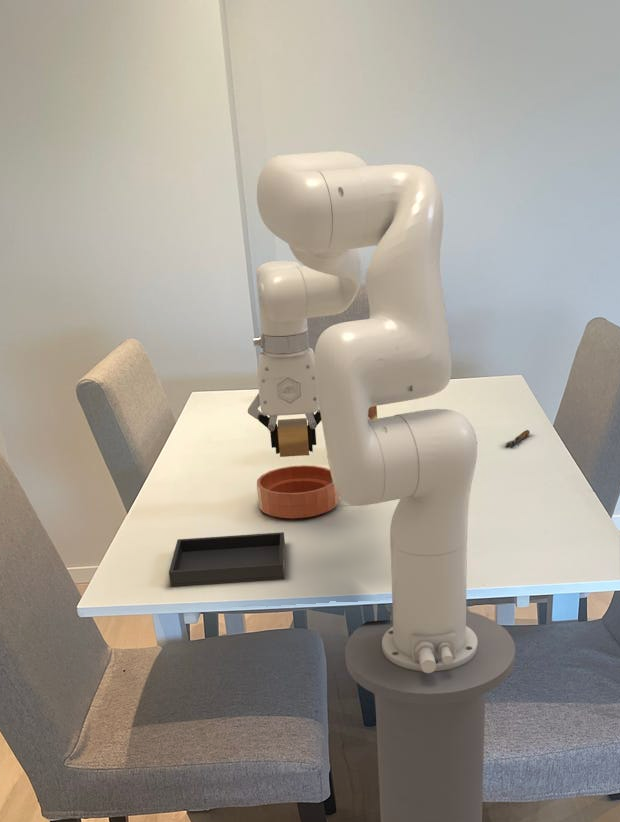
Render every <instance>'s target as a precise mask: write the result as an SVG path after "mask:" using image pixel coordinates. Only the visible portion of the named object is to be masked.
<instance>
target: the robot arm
mask: <svg viewBox="0 0 620 822" xmlns="http://www.w3.org/2000/svg"><path fill="white" fill-rule="evenodd" d="M256 202H257V209H258V213H259V215H260V219H261V220H262V223H263V224H264V225H265V227H266V228H267V229H268V230H269V231H270V232H271V233H272V235H274V236H276V237H277V238H278V239H280V240H281V241H283V242H284V243H285V244H287V245H288V247H289V249H290V252H291V254H292V255H293V256H294V257H295V259H296V260H297V261H293V260H275V261H274V260H273V261H269V262H265V263H262V264H260V265H259V266H258V267H257V269H256V274H255V275H256V288H257V298H258V309H259V318H260V319H259V320H260V331H261V334H259V336H257V337H253V338H252V339H253V340H252V341H253V346H254V347H258V348H259V347H260V348H261V349H262V351H260V352H259V354H258V361H257V362H258V363H257V379H258V381H257V382H258V393H257V395H256V396H255V397H254V399H253V400H252V402H251V403H250V404H249V407H248V408H247V414H248V415H250V416H251V417H253V418H254V419H256V420H257V421H258V422H259V423H260V424H262V425H263V426H264V427H265V428H266V429H267V430H268V431H269V434H270V444H271V448H272V449H274V448H275V454H276V455H280V451H279V440H278V423H277V422H278V417H279V416H280V417H281V416H293V415H305V418H307V432H308V445H309V453H310V452H311V453H313V452H314V449H313V446H317V434H316V433H317V432H316V431H317V430H316V428H317V427H318V425H319V424H320V423H321V426H322V431H323V437H324V443H325V450H326V455H327V461H328V467H329V469H330V473H331V477H332V481H333V484H334V487H335V489H336V492H337V493H338V495H339V499H341V500H342V502H344V503H346V504H348V505H349V506H353V507H354V506H355V507H364V506H370V505H376V504H382V503H386V502H392V501H397V500H399V501H398V502H397V505H396V507H395V509H394V511H393V514H392V516H391V522H390V527H389V539H390V540H389V541H390V544H389V545H390V573H391V574H390V575H391V603H392V608H391V609H392V612H393V627H392V628H390V629H389V630H388V631H387V632H386V633H385V634H384V636H383V638H382V651H383V653H384V655H385V656H386V658H387V659H389V660H390V661H391V662H392V663H394V664H396V665H398V666H400V667H403V668H406V669H410V670H414V671H423V672H425V673H431V672H435V671H444V670H449V669H453V668H456V667H459V666H461V665H463V664H465V663H467V662H468V661H469V660H471V659H472V658H473V656H474V655H475V654H476V652H477V646H478V640H477V636H476V635H475V633H474V632H473V631H472V630H471V629H470V628H469V627H467V626H466V611H467V589H468V588H467V584H468V583H467V582H468V581H467V579H468V577H467V576H468V575H467V574H468V530H469V529H468V527H469V506H470V505H469V504H470V496H471V490H472V483H473V479H474V475H475V470H476V466H477V465H476V464H477V461H478V460H477V459H478V439H477V435H476V431H475V429H474V427H473V425H472V423H471V422H470V420H469V419H468V418H467V417H466V416H464V415H463V414H462V413H460V412H458V411H455V410H452V409H446V408H429V409H423V410H416V411H409V412H405V413H404V412H403V413H397V414H394V415H390V416H383V417H377V419H372V420H368V410H369V408H370V407H373V406H377V407H378V406H385V405H390V404H396V403H402V402H403V403H404V402H408V401H413V400H419V399H424V398H427V397H431V396H434V395H436V394H439V393H441V392H442V391H443V390H445V389H446V388H447V386H448V385H449V383H450V380H451V376H452V369H453V367H452V352H451V343H450V335H449V327H448V320H447V312H446V305H445V298H444V291H443V290H444V289H443V284H442V278H441V277H442V275H441V265H440V259H441V247H442V240H443V229H444V204H443V198H442V194H441V190H440V187H439V184H438V182H437V181H436V178H435V177H434V176H433V174H432V172H430V171H429V170H428V169H426V168H425V167H423V166H419V165H416V164H408V163H407V164H406V163H392V164H376V165H374V164H373V165H368V164H367V163H366V162H365V160H363V159H362V158H360V157H359V156H357V155H356V154H353V153H350V152H347V151H342V150H341V151H340V150H333V151H332V150H331V151H330V150H329V151H318V152H317V151H316V152H304V153H291V154H290V153H289V154H280V155H277V156H273V157H271V158H270V159H269V160H268V161H267V162H266V163H265V164H264V165H263V166H262V169H261V171H260V173H259V176H258V180H257V184H256ZM370 247H375V249H374V251H373V253H372V255H371V258H370V260H369V262H368V265H367V268H366V273H365V288H366V294H367V300H368V307H369V308H368V309H369V318H366V319H357V320H351V321H349V320H348V321H344V322H338V323H335V324H333V325H331V326H328V328H326V329H324V330H323V331H322V332H321V334H320V335H319V336H318V339H317V341H316V344H315V349H313V348H311V347H310V344H309V329H308V319H311V318H312V319H313V318H319V317H328V316H335V315H339V314H342V313H344V312H345V311H347V310H348V309H349V308H350V306H351V305H352V303H353V302H354V300H355V298H356V297H357V294H358V293H359V291H360V288H361V285H362V273H363V269H362V260H361V259H362V258H361V256H360V253H359V250H358V249H361V248H370ZM259 407H260V409H259ZM260 410H261V411H260Z"/></svg>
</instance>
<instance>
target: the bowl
mask: <svg viewBox="0 0 620 822" xmlns="http://www.w3.org/2000/svg"><path fill="white" fill-rule="evenodd" d="M256 490H257V500H258V507H259V509H260V510H261V512H262V513H264V514H266V515H268V516H272V517H277V518H280V519H281V518H282V519H283V518H284V519H305V518H310V517H311V518H312V517H315V516H320V515H322V514H326V513H327V512H330V511H331V510H333V509H335V508H336V507H337V505H338V504H339V503H340V497H339V495H338V493H337V492H336V489H335V487H334V484H333V481H332V477H331V473H330V468H328V467H324V466H318V465H307V464H306V465H305V464H304V465H303V464H302V465H289V466H284V467H279V468H275V469H273V470H269V471H267V472H265V473H263V474H262V475H260V476H259V477H258V478H257V479H256Z"/></svg>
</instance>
